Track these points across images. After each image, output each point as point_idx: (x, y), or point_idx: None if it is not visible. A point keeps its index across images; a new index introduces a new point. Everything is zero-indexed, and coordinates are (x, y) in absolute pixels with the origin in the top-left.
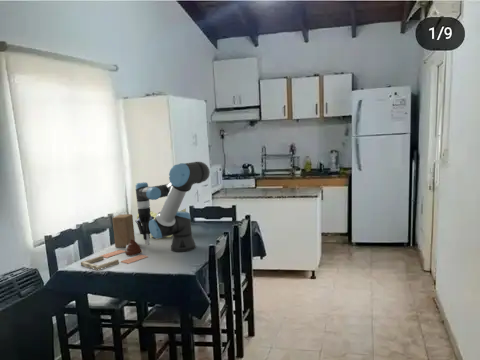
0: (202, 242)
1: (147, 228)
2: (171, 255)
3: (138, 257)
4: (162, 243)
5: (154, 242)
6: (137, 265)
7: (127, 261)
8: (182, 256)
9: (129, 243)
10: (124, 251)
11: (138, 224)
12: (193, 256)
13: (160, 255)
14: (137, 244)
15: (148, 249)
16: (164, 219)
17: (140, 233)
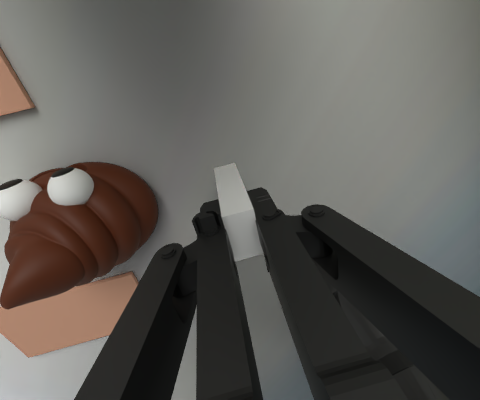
0: (471, 272)
1: (282, 308)
2: (255, 349)
3: (103, 311)
4: (376, 113)
5: (369, 7)
6: (76, 384)
7: (27, 336)
8: (277, 375)
9: (13, 256)
10: (15, 105)
11: None
12: (301, 389)
13: None
14: (106, 271)
15: None
16: None
17: (156, 260)
